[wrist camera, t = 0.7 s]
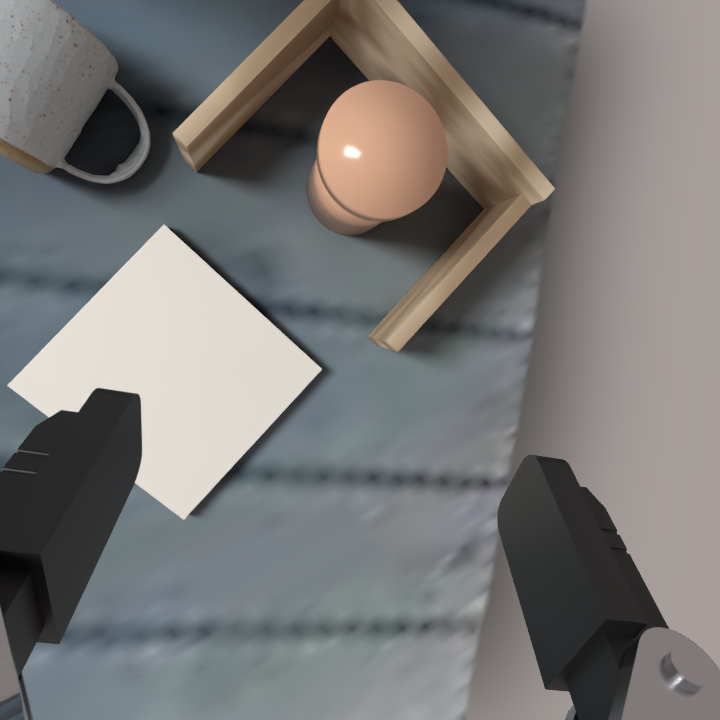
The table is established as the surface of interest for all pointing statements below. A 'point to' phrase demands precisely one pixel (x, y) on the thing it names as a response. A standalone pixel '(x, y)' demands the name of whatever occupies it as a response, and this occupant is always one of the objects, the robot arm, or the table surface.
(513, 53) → the table surface
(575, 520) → the robot arm
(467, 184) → the wooden frame
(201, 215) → the table surface
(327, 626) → the table surface
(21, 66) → the ceramic mug
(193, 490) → the stone tile
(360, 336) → the table surface
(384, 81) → the tan round-topped cylinder
